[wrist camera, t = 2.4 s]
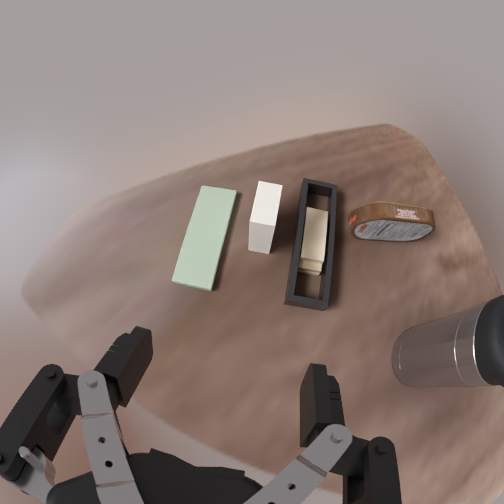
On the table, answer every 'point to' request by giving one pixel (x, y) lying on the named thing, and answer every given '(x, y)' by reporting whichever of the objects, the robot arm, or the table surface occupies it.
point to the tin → (391, 222)
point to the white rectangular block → (264, 217)
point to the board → (205, 238)
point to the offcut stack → (313, 241)
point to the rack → (331, 193)
